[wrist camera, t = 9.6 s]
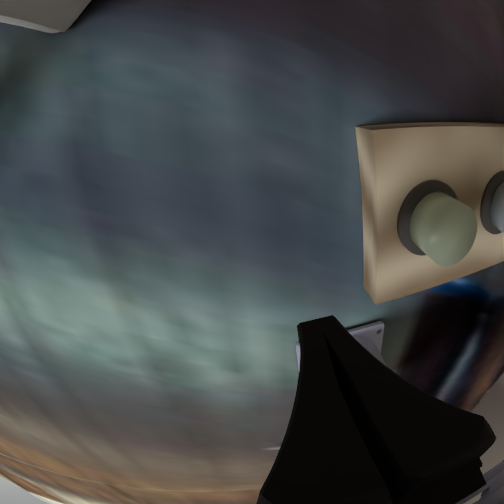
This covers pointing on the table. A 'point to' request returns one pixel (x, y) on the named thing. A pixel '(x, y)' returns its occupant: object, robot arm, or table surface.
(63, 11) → the photo printer
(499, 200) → the button slate
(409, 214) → the button panel
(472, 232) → the button sage
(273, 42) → the table surface
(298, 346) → the robot arm
